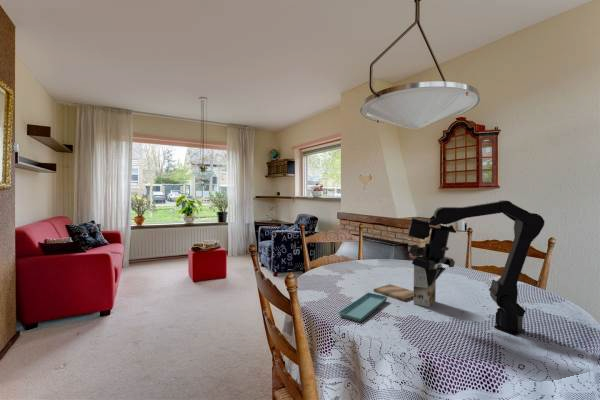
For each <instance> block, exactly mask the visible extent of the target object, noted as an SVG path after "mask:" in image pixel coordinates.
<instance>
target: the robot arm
mask: <svg viewBox="0 0 600 400" xmlns="http://www.w3.org/2000/svg"><path fill="white" fill-rule="evenodd" d="M496 214H503V215H504V216H506V217H507V218H509V219H510V220H512V221H514V223H513V234H514V238H513V242H512V244H511V247H510V250H509V253H508V255H507V259H506V262H505V264H504V268H503V270H502V273H501V276H500V278H499V279H497V280H495V279H492V280H491V285H490V287H489V289H488V291H489V295H490V298H491V299H492V301H493V302H494V303H495V304H496V306H497V307H498V308H497V309H496V310H497V311H496V312H495V325H494V326H493V328H495V329H498V330H500V331H502V332H505V333H507V334H510V335H513V336H517V335H520V334H522V333H524V332H526V329H525V328H523V327H524V326H523V325H524V324H523V321H524V319H523V318H524V316H525V313H526V309H524V308H523V307H522V305H520V304H519V303H518V297H519V293H518V292H519V291H518V290H519V289H518V281H519V278H520V276H521V273H522V270H523V267H524V264H525V262H526V258H527V256H528V252H529V251H530V248H531V244H532V242H533V241H534V240H535V239H536V238H537V237H538V236H539V235H540V233H541V231H542V230H543V228H544V226H545V222H546V221H545V220H544V218H543V216H541V215H540V214H537V213H536V212H535V213H534V212H530V211H527V210H525V209H524V208H522V207H520V206H518V205H516V204H514V203H513V202H511V201H510V200H502V199H501V200H499V201H493V202H486V203H481V204H476V205H467V206H462V207H461V206H460V207H459V206H441V207H437V208H436V209H435V210H434V212H433V215H431V217H429V218H428V219H427V220H424V219H423V220H421V219H417V218H414V217H412V218H411V220H410V223H409V226H408V231H407V237H409V238H415V239H420V240H425V239H427V238H429V241H428V242H426V243H425V244H424V246H422V247H421V246H419V245H418V244H411V245H410V248H409V249H410V250H409V253H410V254H411V257H413V258H412V261H411V264H412V265H413V266H414V265H416V266H419V267H422V268H424V269H425V271H426V277H427V284H428V285H429V286H432V284H433V283H434V282H435V281H436V282H437V280H438V278H439V277H440V276H441V275H443V272H445V271H446V268H445V267H443V265H446V266H448V267H449V268H454V267H455V263H456V262H455V260H454V259H453V258H451V257H448V256H446V251H449V249H450V247H447V246H448V242H449V236H450V233H453V234H456V233H457V230H456V229H455V228H454V226H453V225H452V223H456V222H459V221H462V220H465V219H467V218H468V219H469V218H474V217H482V216H488V215H496ZM449 224H450V225H449Z"/></svg>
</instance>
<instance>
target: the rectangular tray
mask: <svg viewBox="0 0 600 400" xmlns="http://www.w3.org/2000/svg"><path fill="white" fill-rule="evenodd" d="M388 298H389V296H386V295H383V294H379V293H377V294H376V293H372V292H367V293H365V294H364V295H362V296H361V297H360V298H358V299H356V300H354V301H353V302H352V303H350V304H348V305H347V306H345V307H344V308H343V309H341V310H340V311H338V314H339V316H340V317H341V318H344V319H348V320H351V319H352V320H351V321H355V322H358V321H359V323H360V321H361V322H362V321H363V320H364V319H366V318H367V317H368V316H370V314H372V313H374V312H375V311H376V310H377V309H379V308H380V307H381V306H382V305H383V304H385V303H386V301H387V300H388Z"/></svg>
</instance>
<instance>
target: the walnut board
mask: <svg viewBox="0 0 600 400" xmlns="http://www.w3.org/2000/svg"><path fill="white" fill-rule="evenodd" d="M373 292H374V293H377V294H379V295H383V296H387V297H388V298H391V299H395V300H398V301H402V302H407V301H410V300H414V290H411V289H408V288H404V287H401V286H397V285H394V284H391V283H390V284H386V285H381V286H380V287H376V288H373Z"/></svg>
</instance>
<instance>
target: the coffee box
mask: <svg viewBox="0 0 600 400" xmlns="http://www.w3.org/2000/svg"><path fill="white" fill-rule="evenodd" d="M436 283H437V280H436V281H435V282H434V283H433V284H432V286H429V285H428V284H427V277H426V271H425V269H424V268H422V267H419V266H416V265H413V291H414V298H413V299H412V300H413V305H416V306H420V307H426V308H429V307H431V306H432V305H433V304H434V303H435V302H436V295H437V294H436V286H437V285H436Z"/></svg>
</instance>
